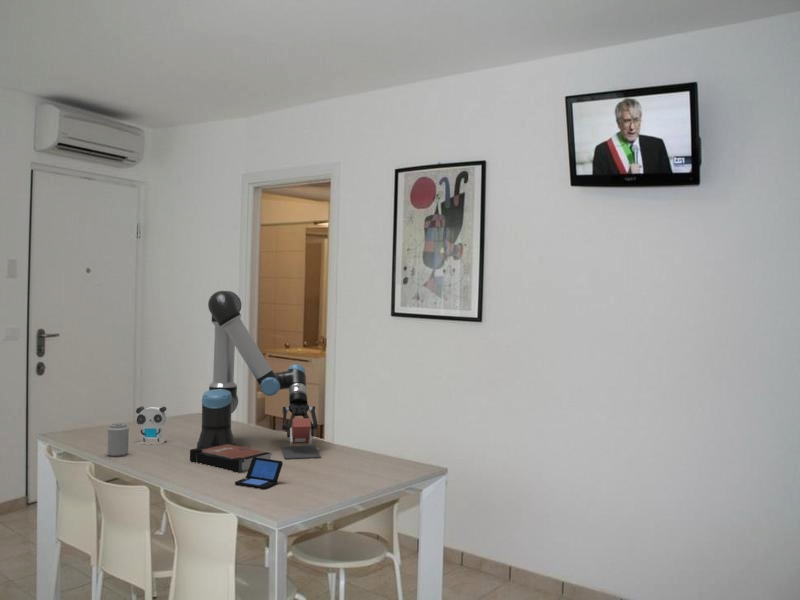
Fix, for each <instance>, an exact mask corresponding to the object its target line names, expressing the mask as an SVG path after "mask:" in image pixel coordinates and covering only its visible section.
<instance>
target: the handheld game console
mask: <svg viewBox="0 0 800 600" xmlns="http://www.w3.org/2000/svg"><path fill="white" fill-rule="evenodd" d="M282 467H283V461H281V460H276V459H271V460H270V459H264V458H257V457H254V458H253V459H252V461H251V464H250V467H249V470H248V471H247V473H246V476H245V477H244V478H241V479H239V480H236V481H234V485H235V486H238V485H241V486H240V487H244V486H247V487H246V488H250V487H254V488H253V489H257V488H260V489H259V490H268V489H270V488H272V487H274V486H276V484H277V485H278V480H279V477H280V473H281V470H282ZM269 487H270V488H269ZM267 488H268V489H267Z"/></svg>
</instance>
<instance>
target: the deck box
mask: <svg viewBox="0 0 800 600" xmlns="http://www.w3.org/2000/svg"><path fill="white" fill-rule="evenodd" d="M310 420H311V417H309V418H303V417H300V418H297V417H296V418H294V419H293V420H292V425H291V428H292V440H293V442H292V445H293V444H294V445H296V444H309V435H310V429H311V422H312V420H311V421H310Z"/></svg>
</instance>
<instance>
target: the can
mask: <svg viewBox="0 0 800 600" xmlns="http://www.w3.org/2000/svg"><path fill="white" fill-rule="evenodd" d="M129 429H130V428H129V426H128V424H127V423H125V422H117V423H110V425H109V427H108V429H107V454H108V456H110V457H114V456H117V457H121V456H120V455H124V456H126V455H127V454H128V453H129V443H130V442H129V440H130V439H129V438H130V437H129V432H130V431H129ZM125 454H126V455H125Z"/></svg>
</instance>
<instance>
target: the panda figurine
mask: <svg viewBox="0 0 800 600" xmlns="http://www.w3.org/2000/svg"><path fill="white" fill-rule="evenodd" d="M166 411H167V407H166V406H161V407H158V406H150V407H147V408H145V407H144V406H139V407H137V408H136V409H135V413H136V414H138V415H137V417H136V423H137V426H138V427H139V428H140V429H141V430H140V433H141V435H142V440H143V442H146V441H147V440H148V439H157V441H158V442H160V441H161V440H162V439H163V438H162V437H163V436H162V433H163V432H162V429H163V428H162V427H163V426H164V425H165V424H166V421H167V415H166Z"/></svg>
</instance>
